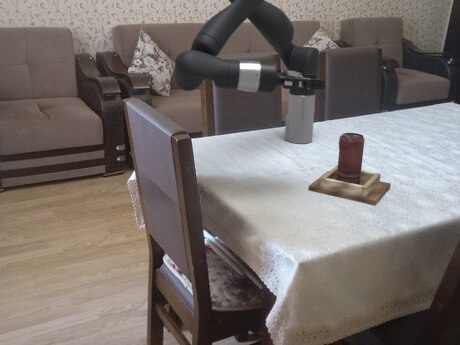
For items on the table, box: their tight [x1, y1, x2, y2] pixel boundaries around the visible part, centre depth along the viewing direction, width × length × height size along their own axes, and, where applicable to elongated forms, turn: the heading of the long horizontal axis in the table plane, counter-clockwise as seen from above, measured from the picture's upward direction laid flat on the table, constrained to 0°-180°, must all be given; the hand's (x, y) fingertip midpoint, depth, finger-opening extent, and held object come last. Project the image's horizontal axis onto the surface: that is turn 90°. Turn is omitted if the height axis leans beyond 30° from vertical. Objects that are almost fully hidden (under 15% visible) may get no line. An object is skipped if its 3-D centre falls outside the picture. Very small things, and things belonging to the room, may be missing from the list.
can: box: [337, 132, 365, 185], centre depth 120 cm, size 6×6×14 cm
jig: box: [307, 164, 392, 206], centre depth 122 cm, size 18×14×4 cm
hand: (319, 82), depth 114 cm, fingers open, 8 cm apart
